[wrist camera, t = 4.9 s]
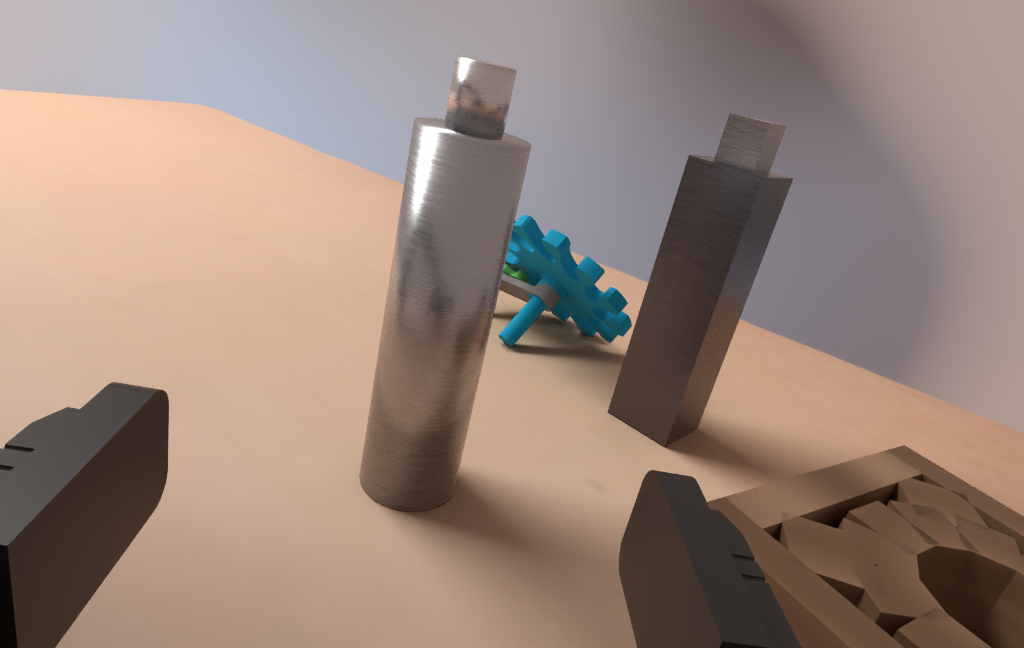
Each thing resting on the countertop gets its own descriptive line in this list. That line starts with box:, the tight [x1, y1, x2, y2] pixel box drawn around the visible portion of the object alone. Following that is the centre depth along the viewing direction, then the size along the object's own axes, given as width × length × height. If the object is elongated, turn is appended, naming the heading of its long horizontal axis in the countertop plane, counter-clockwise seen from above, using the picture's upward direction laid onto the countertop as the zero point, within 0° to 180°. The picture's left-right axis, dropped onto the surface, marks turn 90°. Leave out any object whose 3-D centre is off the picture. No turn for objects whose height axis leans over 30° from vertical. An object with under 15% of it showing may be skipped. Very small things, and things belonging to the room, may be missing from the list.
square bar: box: [608, 113, 793, 447], centre depth 30 cm, size 3×3×15 cm
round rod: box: [360, 56, 531, 511], centre depth 22 cm, size 4×4×15 cm
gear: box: [499, 215, 632, 347], centre depth 39 cm, size 11×6×10 cm
